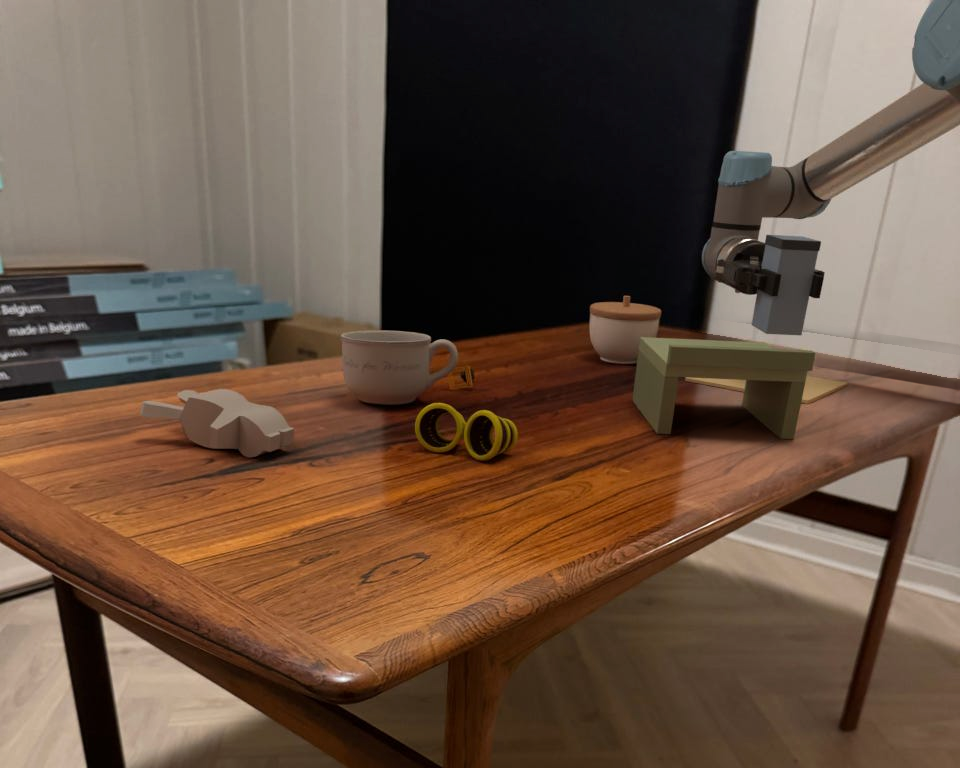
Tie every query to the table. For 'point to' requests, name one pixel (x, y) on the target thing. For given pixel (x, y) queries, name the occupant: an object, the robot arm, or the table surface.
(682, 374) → the stool
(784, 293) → the dark-capped grey pillar
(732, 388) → the mat
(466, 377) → the framed picture
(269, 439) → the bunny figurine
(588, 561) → the table surface
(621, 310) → the trinket box
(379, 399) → the teacup
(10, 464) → the table surface
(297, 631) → the table surface
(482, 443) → the opera glasses
